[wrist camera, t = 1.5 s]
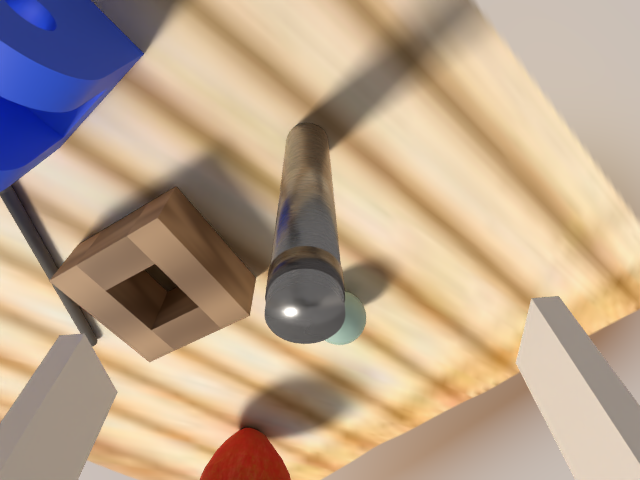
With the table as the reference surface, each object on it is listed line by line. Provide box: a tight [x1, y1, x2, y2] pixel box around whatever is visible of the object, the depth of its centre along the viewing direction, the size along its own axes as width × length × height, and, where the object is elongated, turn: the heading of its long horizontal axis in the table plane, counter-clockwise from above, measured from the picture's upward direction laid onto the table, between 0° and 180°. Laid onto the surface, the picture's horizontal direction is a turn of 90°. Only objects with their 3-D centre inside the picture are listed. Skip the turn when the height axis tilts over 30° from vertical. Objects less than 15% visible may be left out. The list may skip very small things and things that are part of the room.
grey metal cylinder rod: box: [265, 123, 345, 344], centre depth 20 cm, size 3×3×15 cm
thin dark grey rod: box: [0, 186, 97, 346], centre depth 31 cm, size 15×1×1 cm, turn 5°
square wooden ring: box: [49, 187, 256, 362], centre depth 29 cm, size 9×9×4 cm
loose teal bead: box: [325, 291, 366, 345], centre depth 32 cm, size 4×4×4 cm
